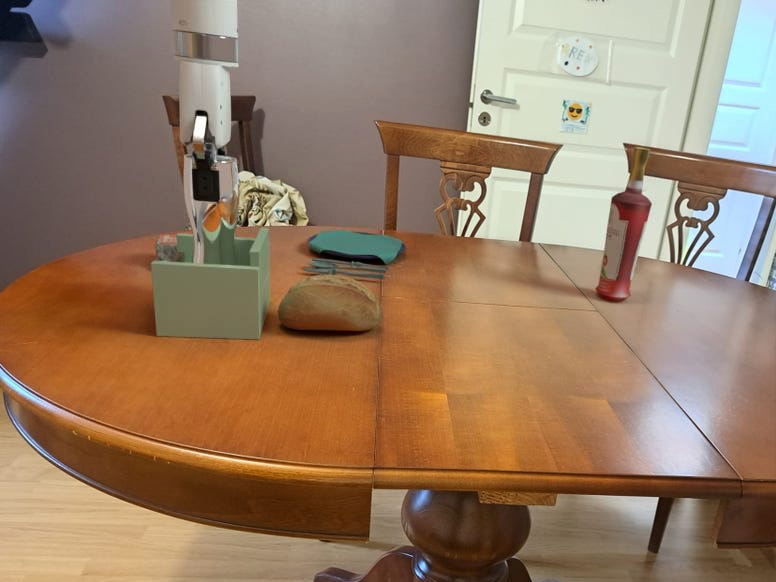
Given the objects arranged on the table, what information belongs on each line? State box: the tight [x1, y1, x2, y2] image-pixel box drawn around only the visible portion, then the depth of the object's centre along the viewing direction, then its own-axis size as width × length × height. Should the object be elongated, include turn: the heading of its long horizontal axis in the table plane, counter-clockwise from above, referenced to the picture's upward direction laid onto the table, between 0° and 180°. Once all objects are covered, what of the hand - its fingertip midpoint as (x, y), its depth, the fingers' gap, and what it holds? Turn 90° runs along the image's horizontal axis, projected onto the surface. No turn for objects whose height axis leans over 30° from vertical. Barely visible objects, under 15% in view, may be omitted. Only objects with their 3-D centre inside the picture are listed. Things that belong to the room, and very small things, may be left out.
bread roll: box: [277, 274, 384, 332], centre depth 96 cm, size 10×15×8 cm, turn 102°
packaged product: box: [154, 234, 177, 262], centre depth 117 cm, size 18×5×10 cm
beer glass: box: [182, 153, 241, 266], centre depth 90 cm, size 7×7×15 cm
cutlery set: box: [302, 229, 407, 280], centre depth 132 cm, size 20×30×2 cm, turn 0°
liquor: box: [594, 146, 653, 303], centre depth 123 cm, size 7×7×28 cm
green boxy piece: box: [150, 227, 271, 341], centre depth 94 cm, size 13×16×12 cm
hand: (211, 194), depth 89 cm, fingers closed on beer glass, 7 cm apart
